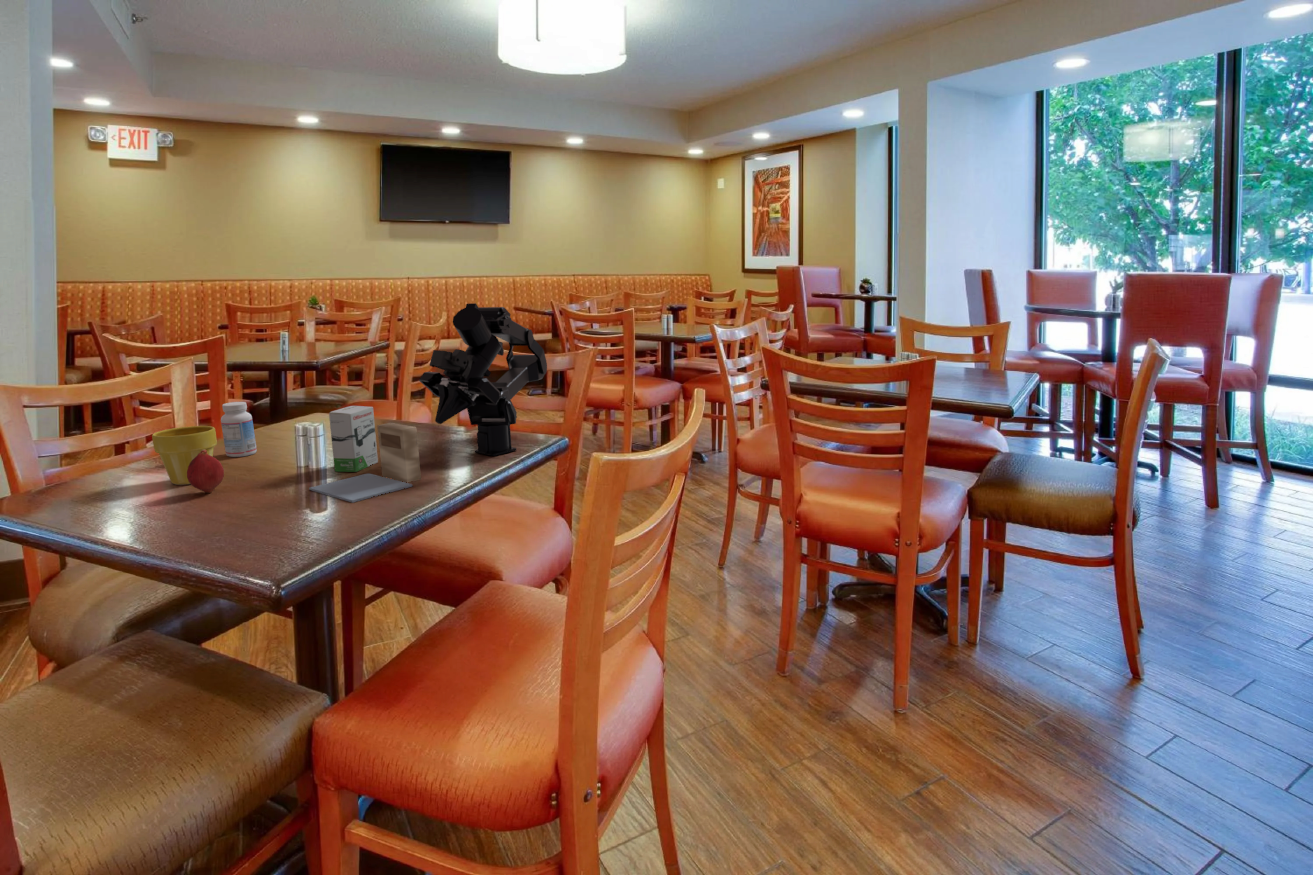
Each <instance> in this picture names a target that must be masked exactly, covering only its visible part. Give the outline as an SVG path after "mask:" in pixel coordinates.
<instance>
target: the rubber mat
mask: <svg viewBox="0 0 1313 875" xmlns="http://www.w3.org/2000/svg"><path fill="white" fill-rule="evenodd" d="M411 487H413V484H412V483H410V482H409V483H406V482H402V481H398V480H394V479H390V478H386V477H382V475H381V476H380V475H378V474H374V473H369V472H367V473H364V474H360V475H356V476H351V477H347V478H343V479H339V480H335V481H331V482H327V483H323V484H320V485H315V486H310V487H309V491H312V492H315V493H318V494H322V495H326V496H330V497H332V498H335V499H338V500H339V499H340V500H342V501H346V502H349V503H355V502H360V501H364V500H366V499H371V497H372V498H374V497H373V496H375V497H378V495H379V496H382V495H381V494H383V495H386V494H389V492H390V493H392V492H397V491H401V490H404V488H405V489H407V488H411ZM385 493H386V494H385Z"/></svg>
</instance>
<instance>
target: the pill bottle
mask: <svg viewBox="0 0 1313 875" xmlns="http://www.w3.org/2000/svg"><path fill="white" fill-rule="evenodd" d="M247 408H248V406H247V402H246V401H232V402H227V403H225V402H224V403H223V404H222V411H223V412H224V414H223V415H222V416H221V418H220V423H221V424H220V425H221V430H222V437H223V443H224V445H223V446H224V450H225V451H224V452H225V455H226V456H227V457H230V458H241V457H242V458H243V457H247V456H252V455H254V454H256V453H257V451H258V450H257V448H258V447H257V442H256V436H255V429H254V422H253V416H252V414H251V413H250V412H248V411H247V410H248V409H247Z"/></svg>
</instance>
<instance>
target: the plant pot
mask: <svg viewBox="0 0 1313 875" xmlns="http://www.w3.org/2000/svg"><path fill="white" fill-rule="evenodd" d="M151 437H152V438H151V439H152V445H153V449H154V452H155V453H156V454H159V457H160V459H161V461H162V464H163V466H164V469H165V471H166V473H167V475H168V478H169V480H170V483H171V484H173V485H177V486H183V485H184V486H185V485H186V486H187V485H191V484H190V483H189V481H188V478H187V470H188V466H189V464H190V462H191V461H192V460H193V459H194V458H195V457H196V456H197V455H198V454H199V453H200V452H201V450H205V449H206V451H207V454H208V455H210V456H212V457H214V448H215V447H216V446H217V444H218V441H217V432H216V428H215V427H214V426H210V425H209V426H208V425H191V426H180V427H173V428H168V429H163V430H159V431H156V432H153V434H152V435H151Z"/></svg>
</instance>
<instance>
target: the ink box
mask: <svg viewBox="0 0 1313 875" xmlns="http://www.w3.org/2000/svg"><path fill="white" fill-rule="evenodd" d="M374 412H375V411H374V406H366V405H365V406H363V405H350V406H349V405H348V406H346V407H343V408H339V409H335V410H332V411H330V412H329V413H328V417H329V419H328V420H329V427H330V435H331V436H330V437H331V445H332V446H331V447H332V457H333V466H334V471H335V472H338V473H339V472H340V473H343V472H344V473H345V472H347V473H350V472H351V473H358V472H359V471H362V470H364V469H366V468H368V467H371V466H373V465H375V464H377V463H379V456H378V447H377V436H376V427H375V426H376V425H375V414H374ZM372 464H373V465H372ZM370 465H371V466H370Z"/></svg>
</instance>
